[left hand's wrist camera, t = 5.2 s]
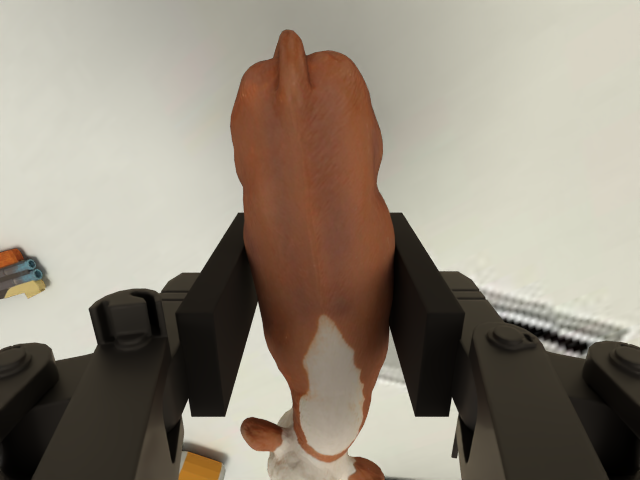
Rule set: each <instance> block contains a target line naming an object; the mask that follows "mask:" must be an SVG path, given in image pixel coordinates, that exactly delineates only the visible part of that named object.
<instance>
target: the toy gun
mask: <svg viewBox="0 0 640 480" xmlns="http://www.w3.org/2000/svg"><path fill="white" fill-rule="evenodd" d="M35 268H36V263H35V261H34V260H32V259H25V260H24V258H23V256H22V254H21V252H20V251H19V250H18V249H11V250H7V251H3V252H0V299H3V298H8V297H11V296H15V295H18V294H21V293H25V294H26V296H27V298H30V297H32V296H34V295H36V294H38V293H40V292H42V291H44V290H45V287H46V286H45V284H44V282H43V281H42V280H41V279H42V276H43V274H42V272H41V271H40V270H39V269H35ZM34 269H35V270H34Z"/></svg>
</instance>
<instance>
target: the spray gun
mask: <svg viewBox="0 0 640 480" xmlns="http://www.w3.org/2000/svg"><path fill="white" fill-rule="evenodd" d="M224 476H225V468H224V465H223V463H221V462H218V461H215V460H212V459H209V458H206V457H203V456H200V455H197V454H194V453H191V452H188V451H182V454H181V462H180V470H179V479H178V480H223V479H224Z"/></svg>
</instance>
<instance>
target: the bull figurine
mask: <svg viewBox="0 0 640 480" xmlns="http://www.w3.org/2000/svg"><path fill="white" fill-rule="evenodd" d="M230 128H231V135H232V142H233V146H234V161H235V167H236V172H237V175H238V178H239V180H240V182H241V184H242V186H243V205H244V220H245V221H244V230H243V238H244V244H245V250H246V254H247V257H248V261H249V264H250V268H251V273H252V277H253V281H254V285H255V289H256V294H257V298H258V303H259V308H260V312H261V317H262V322H263V329H264V336H265V340H266V343H267V346H268V349H269V351H270V353H271V355H272V356H273V358H274V360H275V362H276V364H277V366H278V369H279V370H280V372H281V373H282V374H283V376H284V377H285V379H286V381H287V382H288V385H289V387H290V390H291V395H292V400H293V406H292V408H291V409H290V410H289V411H287V412H286V413H285V414H284V415H283V416H282V417H281V419H280V420H279V422H278V424H277V425H276V424H274V423H272V422H269V421H267V420H263V419H258V418H254V417H250V418H247V419H245V420H244V421H243V423H242V425H241V429H240V430H241V434H242V436H243V438H244V439H245V441H246V442H247V443H248V445H249V446H250V447H251V448H253V449H254V450H256V451H270V456H269V459H268V474H269V476H270V478H271V480H385V477H384V474H383V473H382V471H381V469H380V468H379V467H378V466H377V465H376V464H375V463H373V462H372V461H370V460H368V459H365V458H362V457H351V456H349V455H348V448H349V447H350V446H351V444H352V443H353V442H354V440H355V439H356V437H357V436H358V434H359V432H360V430H361V429H362V427H363V425H364V423H365V420H366V417H367V414H368V410H369V406H370V402H371V394H372V390H373V388H374V386H375V383H376V381H377V378H378V375H379V372H380V369H381V367H382V365H383V363H384V361H385V358H386V354H387V350H388V343H389V316H390V311H391V306H392V301H393V290H394V255H395V235H394V228H393V224H392V220H391V216H390V213H389V210H388V208H387V205H386V203H385V201H384V199H383V197H382V195H381V194H380V192H379V190H378V188H377V175H378V171H379V167H380V164H381V160H382V155H383V142H382V136H381V131H380V128H379V125H378V123H377V120H376V117H375V114H374V111H373V108H372V105H371V99H370V94H369V91H368V88H367V86H366V83H365V81H364V79H363V77H362V75H361V73H360V72H359V70H358V68H357V67H356V65H355V64H354V63H353V61H352V60H351V59H349V58H348V57H347V56H345V55H343V54H341V53H339V52H335V51H329V50H328V51H321V52H315V53H312V54H310V55H305V51H304V47H303V43H302V40H301V39H300V37H299V36H298V35H297V34H296V33H295V32H294V31H292V30H284V31H282V33H281V35H280V37H279V40H278V43H277V46H276V50H275V53H274V57H273V58H272V59H269V60H265V61H260V62H258V63H255V64H254V65H252V66H251V67H250V68H249V69H248V70H247V71H246V72H245V73H244V75H243V77H242V79H241V83H240V86H239V90H238V93H237V97H236V100H235V103H234V107H233V110H232V114H231V123H230Z"/></svg>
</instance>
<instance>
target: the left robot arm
mask: <svg viewBox="0 0 640 480" xmlns="http://www.w3.org/2000/svg"><path fill="white" fill-rule="evenodd" d="M390 216H391V220H392V224H393V228H394V235H395V255H394V290H393V301H392V306H391V311H390V316H389V326H390V330H391V333H392V337H393V340H394V344H395V347H396V351H397V354H398V358H399V361H400V365H401V368H402V372H403V375H404V379H405V382H406V386H407V389H408V393H409V396H410V400H411V403H412V407H413V411H414V414H415V417H449V412H450V406H451V399H452V398H453V400H454V403H455V405H456V407H457V410H458V412H459V415H458V421H457V427H456V432H455V438H454V444H453V450H452V458H457V454H458V453H459V461H460V470H461V478H462V480H640V347H638V346H635V345H632V344H628V343H623V342H613V341H602V342H595V343H594V344H593V345H591V346H590V347H589V350H588V353H587V356H586V359H581V358H576V357H571V356H566V355H561V354H556V353H552V352H548V351H546V350H545V348H544V346H543V344H542V343H541V342H540V341H539V339H538V338H537V337H536V336H535V335H533V334H532V333H530V332H529V331H527V330H526V329H523V328H521V327H518V326H516V325H513V324H509V323H505V322H504V321H503V320H502V319H501V317H500V316H499V315H498V313H497V312H496V311H495V309H494V308H493V307H492V306H491V304H490V303H489V302H488V300H486V299H485V296H484V295H483V294H482V293H481V291H479V289H478V287H477V286H476V285H475V283H474V282H473V281H472V280H471V279H470V278H468V277H466V276H465V275H463V274H461V273H460V272H458V271H438V269H437V267H436V266H435V264H434V263H433V261H432V259H431V258H430V256H429V255H428V253H427V252H426V250H425V248H424V247H423V245H422V244H421V242H420V240H419V239H418V237H417V236H416V234H415V233H414V231H413V229H412V228H411V226H410V225H409V223H408V221H407V220H406V218H405V217H404V215H403V214H402V213H390ZM244 221H245V220H244V213H238V214H237V216H236V217H235V219H234V220H233V222H232V224H231V225H230V227H229V228H228V230H227V231H226V233H225V235H224V236H223V238H222V239H221V241H220V243H219V244H218V246H217V247H216V249H215V250H214V252H213V254H212V255H211V257H210V258H209V260H208V262H207V263H206V265H205V266H204V268H203V269H202V271H201V273H181V274H180V275H178V276H176V277H175V278H173V279H171V280H170V281H169V282H168V283H167V284H166V286H165V287H164V288H163V289H162V291H161V293H158V292H156V291H154V290H150V289H129V290H123V291H119V292H116V293H113V294H110V295H107V296H105V297H103V298H101V299H100V300H98V301H96V302H95V303H94V304H93V305H92V306H91V307H90V308H89V312H90V316H91V320H92V324H93V328H94V332H95V336H96V340H97V344H98V345H97V347H96V349H95V351H94V353H92V354H88V355H83V356H78V357H73V358H68V359H63V360H58V361H55V359H54V355H53V352H52V349H51V348H50V347H48V346H47V345H46V344H41V343H26V344H17V345H13V346H9V347H6V348H3V349H1V350H0V480H178V479H179V470H180V462H181V454H182V446H183V437H184V427H183V421H182V413H183V410H184V408H185V405H186V403H187V401H188V398H189V404H190V410H191V416H192V417H225V415H226V411H227V408H228V404H229V401H230V397H231V394H232V390H233V387H234V383H235V380H236V376H237V373H238V369H239V366H240V362H241V359H242V355H243V352H244V348H245V345H246V341H247V338H248V334H249V331H250V327H251V324H252V320H253V317H254V313H255V310H256V306H257V303H258V298H257V294H256V289H255V285H254V281H253V277H252V273H251V268H250V264H249V261H248V257H247V254H246V250H245V244H244V238H243V230H244Z"/></svg>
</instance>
